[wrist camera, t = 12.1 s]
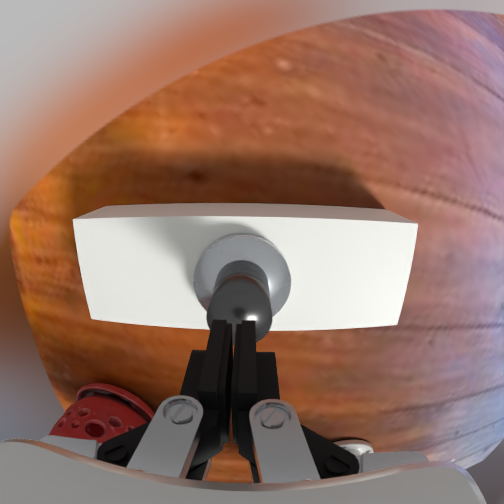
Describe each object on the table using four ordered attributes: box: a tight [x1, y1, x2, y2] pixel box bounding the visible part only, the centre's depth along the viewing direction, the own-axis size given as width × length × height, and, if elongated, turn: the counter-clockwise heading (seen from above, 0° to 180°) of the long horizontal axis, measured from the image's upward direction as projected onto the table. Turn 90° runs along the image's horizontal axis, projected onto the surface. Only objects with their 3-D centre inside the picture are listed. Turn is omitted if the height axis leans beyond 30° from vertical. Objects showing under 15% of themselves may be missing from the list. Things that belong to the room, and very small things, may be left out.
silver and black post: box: [193, 233, 291, 345], centre depth 18 cm, size 6×6×10 cm
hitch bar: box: [73, 203, 418, 331], centre depth 21 cm, size 8×24×5 cm, turn 89°
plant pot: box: [49, 383, 155, 443], centre depth 25 cm, size 13×13×12 cm
